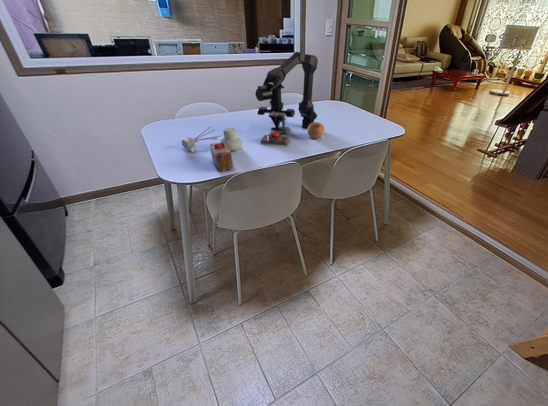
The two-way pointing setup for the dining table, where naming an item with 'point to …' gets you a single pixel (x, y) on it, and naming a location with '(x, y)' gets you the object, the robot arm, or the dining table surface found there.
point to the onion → (315, 130)
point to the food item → (221, 156)
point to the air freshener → (231, 139)
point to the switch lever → (278, 127)
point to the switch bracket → (282, 126)
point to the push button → (274, 134)
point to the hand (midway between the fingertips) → (276, 127)
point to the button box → (274, 140)
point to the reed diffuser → (193, 141)
